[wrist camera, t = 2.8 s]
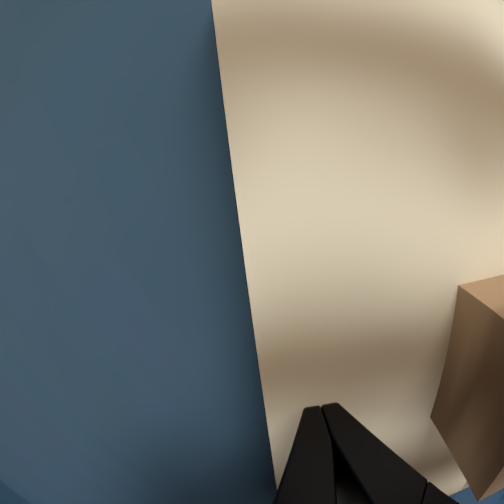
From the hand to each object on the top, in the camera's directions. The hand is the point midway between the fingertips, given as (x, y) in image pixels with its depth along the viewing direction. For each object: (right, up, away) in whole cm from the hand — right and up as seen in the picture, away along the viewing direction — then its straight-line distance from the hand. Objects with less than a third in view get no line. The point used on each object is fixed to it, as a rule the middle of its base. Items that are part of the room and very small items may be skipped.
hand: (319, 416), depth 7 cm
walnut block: (+7, +1, +1) cm, 7 cm away
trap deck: (+12, +2, +3) cm, 12 cm away
